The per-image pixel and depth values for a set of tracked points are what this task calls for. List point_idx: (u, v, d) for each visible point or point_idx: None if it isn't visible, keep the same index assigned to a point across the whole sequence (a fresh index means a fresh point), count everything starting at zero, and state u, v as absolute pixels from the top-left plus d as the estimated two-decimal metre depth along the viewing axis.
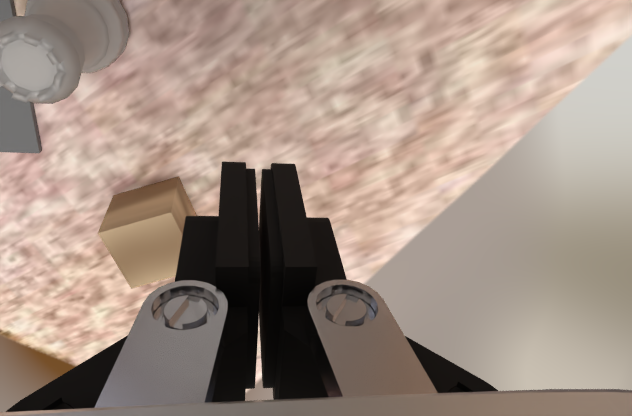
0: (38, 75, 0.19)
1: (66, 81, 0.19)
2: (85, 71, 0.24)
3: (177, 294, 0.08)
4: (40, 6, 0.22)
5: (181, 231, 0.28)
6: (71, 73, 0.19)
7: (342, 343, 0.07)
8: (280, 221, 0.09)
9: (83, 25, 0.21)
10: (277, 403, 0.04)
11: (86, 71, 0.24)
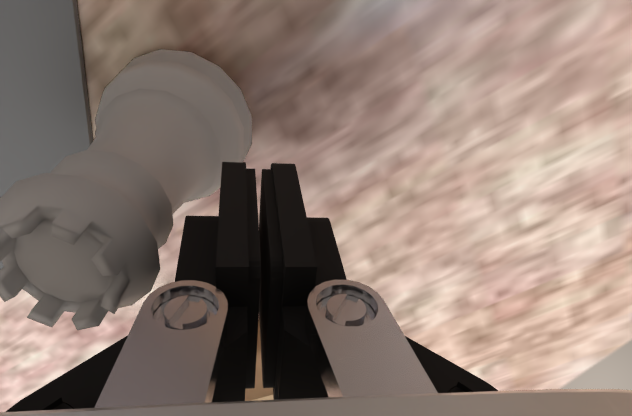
0: (78, 282, 0.10)
1: (129, 291, 0.10)
2: None
3: (177, 294, 0.08)
4: (116, 113, 0.13)
5: None
6: (140, 277, 0.10)
7: (342, 343, 0.07)
8: (280, 221, 0.09)
9: (179, 154, 0.12)
10: (277, 403, 0.04)
11: None
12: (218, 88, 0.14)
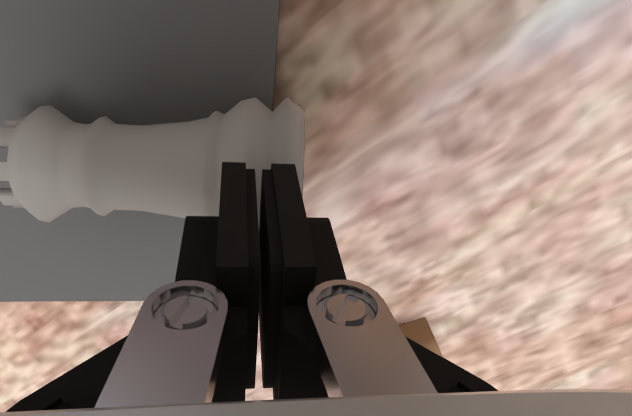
0: None
1: (21, 204, 0.14)
2: None
3: (177, 294, 0.08)
4: (193, 120, 0.15)
5: None
6: (20, 200, 0.13)
7: (342, 343, 0.07)
8: (280, 221, 0.09)
9: (151, 170, 0.13)
10: (277, 403, 0.04)
11: None
12: (247, 153, 0.13)
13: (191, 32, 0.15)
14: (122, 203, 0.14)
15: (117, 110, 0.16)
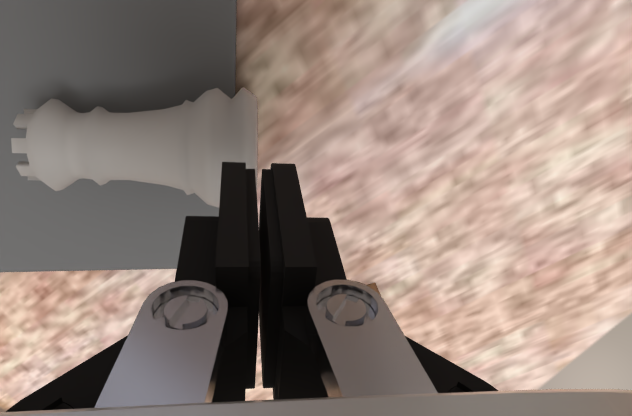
0: None
1: (35, 174, 0.18)
2: None
3: (177, 294, 0.08)
4: None
5: None
6: (35, 169, 0.17)
7: (342, 343, 0.07)
8: (280, 221, 0.09)
9: (138, 141, 0.17)
10: (277, 403, 0.04)
11: None
12: (211, 123, 0.17)
13: (168, 44, 0.19)
14: (115, 171, 0.18)
15: (110, 107, 0.20)
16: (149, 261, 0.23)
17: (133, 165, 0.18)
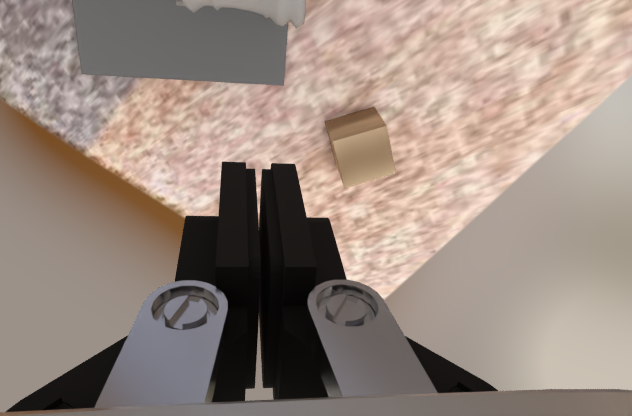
0: None
1: None
2: None
3: (177, 294, 0.08)
4: None
5: (389, 141, 0.38)
6: None
7: (342, 343, 0.07)
8: (280, 221, 0.09)
9: None
10: (277, 403, 0.04)
11: None
12: None
13: None
14: None
15: None
16: (232, 76, 0.37)
17: None
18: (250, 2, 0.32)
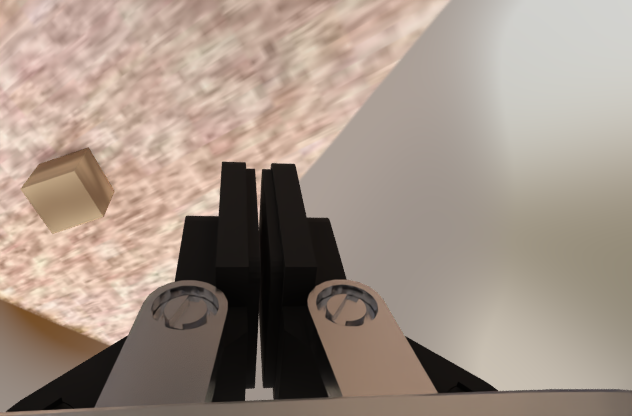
0: None
1: None
2: None
3: (177, 294, 0.08)
4: None
5: (85, 186, 0.36)
6: None
7: (342, 343, 0.07)
8: (280, 221, 0.09)
9: None
10: (277, 403, 0.04)
11: None
12: None
13: None
14: None
15: None
16: None
17: None
18: None
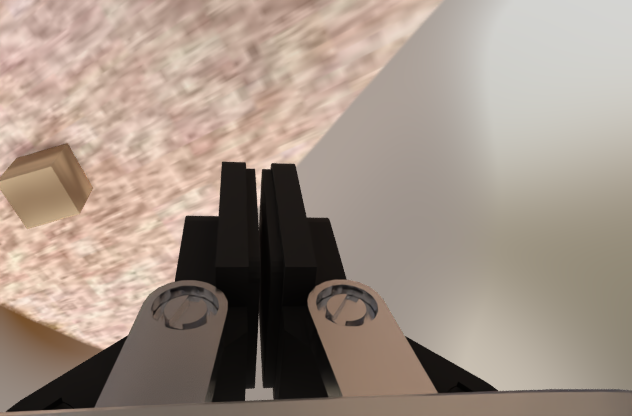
0: None
1: None
2: None
3: (177, 294, 0.08)
4: None
5: (62, 182, 0.36)
6: None
7: (342, 343, 0.07)
8: (280, 221, 0.09)
9: None
10: (277, 403, 0.04)
11: None
12: None
13: None
14: None
15: None
16: None
17: None
18: None
